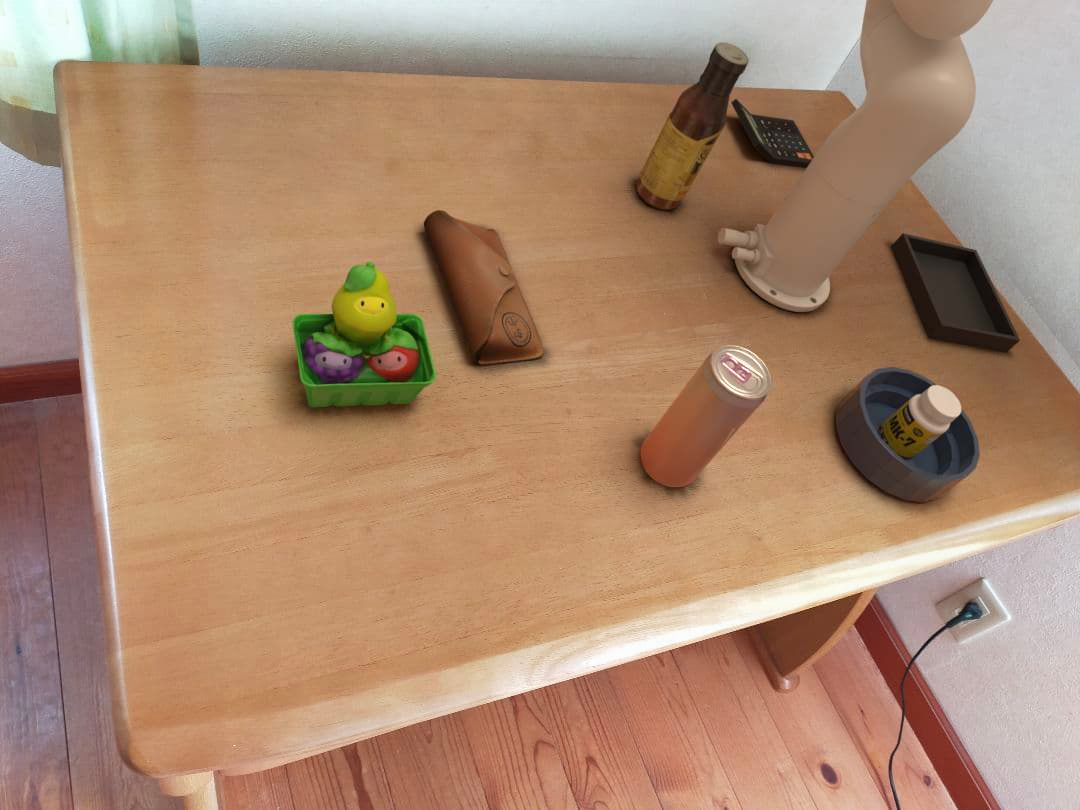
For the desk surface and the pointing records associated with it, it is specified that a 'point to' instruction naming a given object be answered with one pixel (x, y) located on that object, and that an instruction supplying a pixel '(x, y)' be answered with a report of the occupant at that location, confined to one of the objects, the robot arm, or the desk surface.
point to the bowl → (879, 462)
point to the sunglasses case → (483, 291)
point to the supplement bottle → (920, 421)
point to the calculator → (775, 138)
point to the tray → (954, 294)
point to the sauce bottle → (691, 130)
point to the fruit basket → (362, 347)
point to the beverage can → (705, 415)
